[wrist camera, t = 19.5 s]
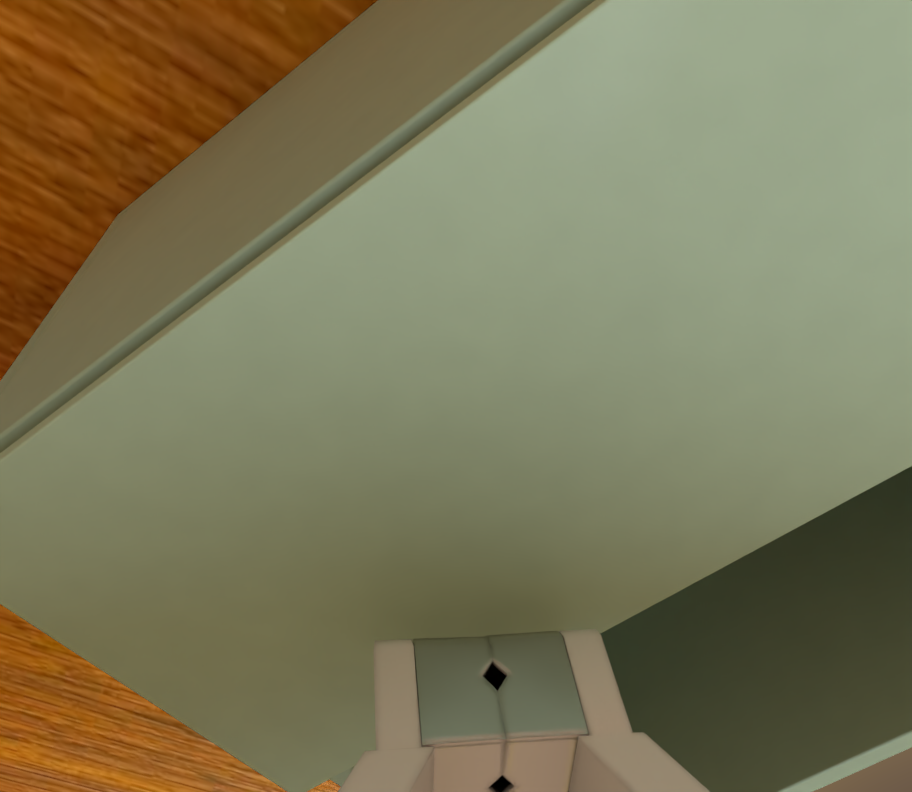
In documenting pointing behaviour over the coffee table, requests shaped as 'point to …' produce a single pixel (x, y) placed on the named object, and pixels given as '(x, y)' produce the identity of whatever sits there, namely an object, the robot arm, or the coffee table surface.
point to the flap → (499, 377)
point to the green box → (637, 638)
